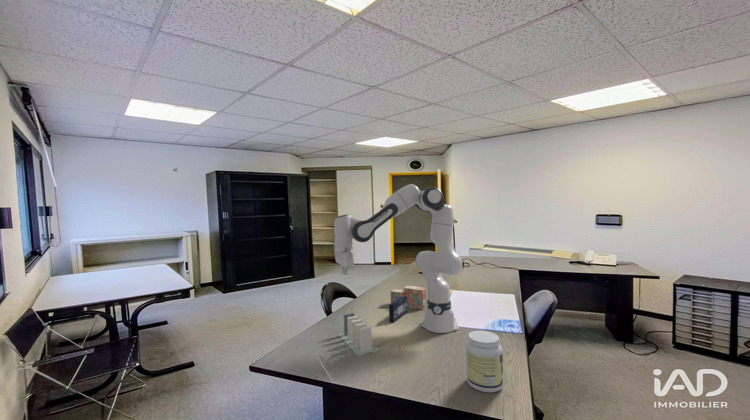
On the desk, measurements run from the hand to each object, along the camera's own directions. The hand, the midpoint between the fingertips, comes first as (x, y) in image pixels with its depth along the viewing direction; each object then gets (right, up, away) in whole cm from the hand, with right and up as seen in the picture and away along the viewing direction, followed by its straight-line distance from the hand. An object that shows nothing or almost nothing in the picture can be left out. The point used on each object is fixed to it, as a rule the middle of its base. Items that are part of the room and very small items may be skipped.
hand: (344, 274), depth 159 cm
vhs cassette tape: (+29, -29, +19) cm, 45 cm away
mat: (+7, -29, -12) cm, 32 cm away
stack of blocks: (+36, -28, +38) cm, 60 cm away
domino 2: (+5, -29, -8) cm, 30 cm away
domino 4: (+9, -29, -17) cm, 35 cm away
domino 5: (+11, -29, -22) cm, 38 cm away
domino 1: (+3, -29, -4) cm, 29 cm away
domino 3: (+7, -29, -13) cm, 32 cm away
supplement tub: (+54, -29, -48) cm, 78 cm away
